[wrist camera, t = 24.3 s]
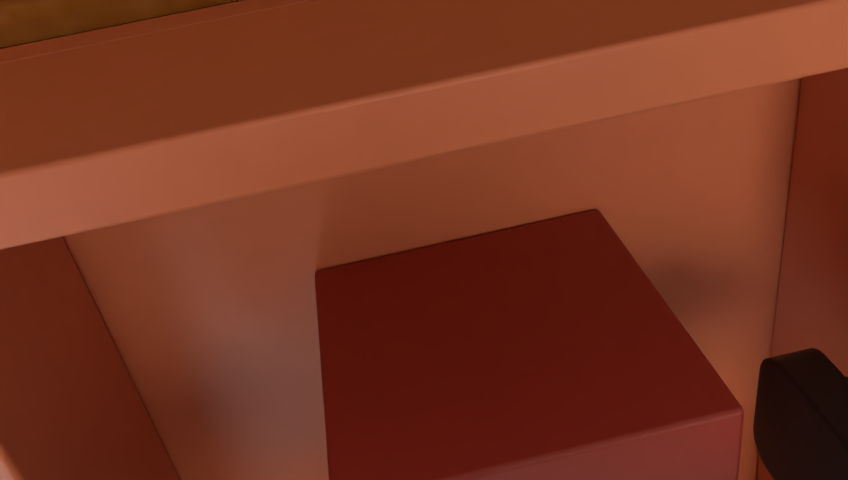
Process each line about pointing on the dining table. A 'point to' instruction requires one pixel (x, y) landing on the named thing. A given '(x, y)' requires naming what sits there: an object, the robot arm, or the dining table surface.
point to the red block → (517, 365)
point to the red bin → (388, 199)
